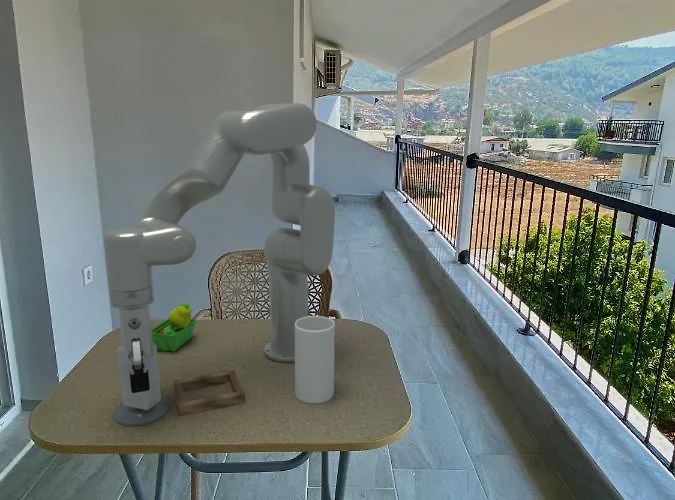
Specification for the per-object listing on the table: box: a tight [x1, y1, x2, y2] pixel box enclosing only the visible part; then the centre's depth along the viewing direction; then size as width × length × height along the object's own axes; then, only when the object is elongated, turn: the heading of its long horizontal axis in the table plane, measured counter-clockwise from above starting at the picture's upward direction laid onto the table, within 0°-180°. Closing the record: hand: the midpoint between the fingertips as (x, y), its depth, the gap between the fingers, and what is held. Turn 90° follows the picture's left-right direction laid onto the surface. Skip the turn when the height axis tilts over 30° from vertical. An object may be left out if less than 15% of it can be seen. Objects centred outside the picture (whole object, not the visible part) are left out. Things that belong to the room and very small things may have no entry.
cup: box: [294, 315, 336, 404], centre depth 101 cm, size 8×8×16 cm
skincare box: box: [116, 343, 162, 410], centre depth 94 cm, size 6×4×12 cm
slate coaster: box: [113, 395, 170, 427], centre depth 95 cm, size 10×10×1 cm
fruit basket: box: [152, 302, 197, 352], centre depth 124 cm, size 11×9×11 cm
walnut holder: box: [173, 369, 246, 417], centre depth 101 cm, size 13×11×2 cm
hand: (140, 380), depth 94 cm, fingers closed on skincare box, 7 cm apart
